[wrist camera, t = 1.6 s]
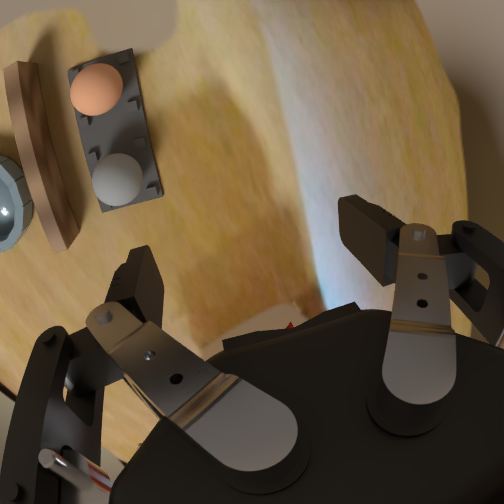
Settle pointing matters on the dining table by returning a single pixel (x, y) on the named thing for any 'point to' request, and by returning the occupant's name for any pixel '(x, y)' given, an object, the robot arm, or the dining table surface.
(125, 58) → the tray
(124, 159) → the grey ball
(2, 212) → the dish
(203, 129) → the dining table surface
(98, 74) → the ball
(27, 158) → the rail
